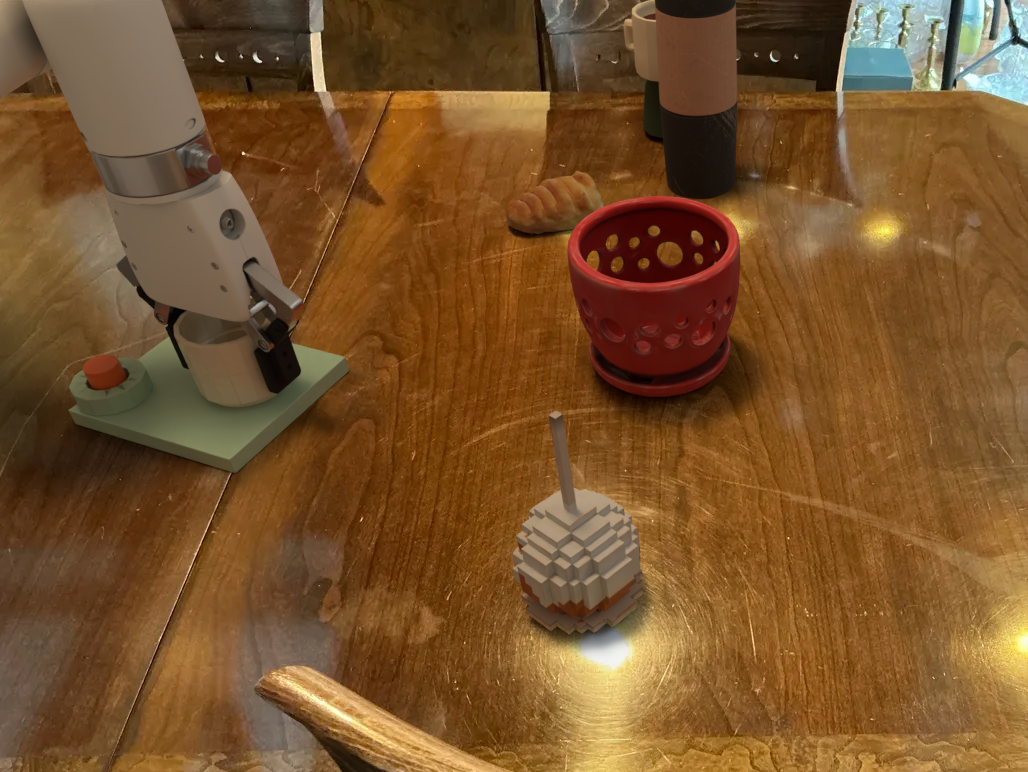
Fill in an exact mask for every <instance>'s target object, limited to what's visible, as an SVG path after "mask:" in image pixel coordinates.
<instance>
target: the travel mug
mask: <svg viewBox="0 0 1028 772" xmlns="http://www.w3.org/2000/svg"><path fill="white" fill-rule="evenodd" d="M736 3H737V0H655V13H656V34H657V55H658V76H659V97H660V110H661V122H662V133H663V138H662V143H663V144H662V145H663V155H664V165H665V175H666V183H667V186H668V188H669V190H670V191H672V192H673V194H676V195H679V196H681V197H684V198H692V199H709V198H714V197H719V196H721V195H724V194H726V193H727V192H729V191H730V190H731V189H732V188H733V187H734V186H735V182H736V167H737V164H736V163H737V127H738V126H737V124H738V62H737V59H738V58H737V57H738V56H737V55H738V53H737V4H736Z"/></svg>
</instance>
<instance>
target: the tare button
mask: <svg viewBox="0 0 1028 772" xmlns="http://www.w3.org/2000/svg"><path fill="white" fill-rule="evenodd" d="M118 358H119V357H117V356H115V355H113V354H101V355H97V356H95V357H92V358H90V359H88V360H87V361H86V362H85V363H84V364H83V365H82V370H83V372H84V373H85V375H86V377H87V379H88V381H89V383H90V385H91V387H92V388H93V389H94V390H96V391H98V390H108V389H111V388H113V387H116V386H119V385H120V384H121V383H123V382H124V381H125V380H127V376H126V374H125V372H124V370H123V368H122V366H121V364H120V362H119V360H118Z"/></svg>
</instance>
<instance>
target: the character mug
mask: <svg viewBox="0 0 1028 772" xmlns="http://www.w3.org/2000/svg"><path fill="white" fill-rule="evenodd" d="M623 34H624V37H623V38H624V45H625V48H626V50H628V51H630V52H633V54H634V55H633V56H634V67H635V71H636V74H637V75H639V77H641V78H642V79H645V80H646V81H645V84H644V95H643V97H644V98H643V111H642V112H643V114H642V115H643V116H642V117H643V118H642V124H643V125H642V126H643V130H644V131H645V132H646V133H647V134H649V135H650V136H651V137H656V138H659V139H663V133H662V122H661V110H660V97H659V76H658V55H657V34H656V13H655V0H645V1H642V2H640V3H637V4H636V5H634V6H633V7H632V8H631V18H626V19H624V21H623Z"/></svg>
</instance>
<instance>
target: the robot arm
mask: <svg viewBox="0 0 1028 772" xmlns="http://www.w3.org/2000/svg"><path fill="white" fill-rule="evenodd" d="M182 55H183V54H182V53H181V50H180V47H179V44H178V41H177V38H176V36H175V34H174V31H173V28H172V24H171V22H170V20H169V16H168V14H167V11H166V9H165V5H164V3H163V0H0V100H2V99H3V98H5V97H6V96H8V95H9V94H11V93H12V92H14V91H16V90H17V89H18V88H21V86H23V85H24V84H26V83H28V82H29V81H30V80H32V79H34V78H36V77H39V76H40V75H43V74H45V73H47V72H50V71H51V70H52V72H53V75H54V77H55V80H56V81H57V83H58V86H59V88H60V90H61V92H62V95H63V97H64V99H65V101H66V105H67V106H68V109H69V110H70V113H71V115H72V117H73V119H74V121H75V124H76V126H77V128H78V131H79V133H80V135H81V137H82V139H83V142H84V144H85V146H86V148H87V151H88V153H89V156H90V157H91V159H92V162H93V164H94V167H95V169H96V171H97V173H98V175H99V178H100V180H101V182H102V184H103V189H104V193H105V197H106V201H107V205H108V208H109V212H110V215H111V218H112V221H113V223H114V226H115V230H116V232H117V236H118V238H119V240H120V243H121V246H122V248H123V251H124V253H125V256H123V257H122V258H121V259H119V261H118V262H116V268H117V270H118V271H119V272H120V273H121V275H122V276H124V278H125V279H126V280H127V281H128V282H129V283H130V284H131V285H132V287H136V289H135V290H136V291H135V292H136V293H137V295H138V297H139V298H140V299H141V300H143V301H144V302H145V303H146V304H147V305H149V306H150V308H152V309H153V317H154V319H155V320H156V321H157V322H158V323H159V324H160V325H163V326H165V327H164V329H165V331H166V333H167V335H168V337H170V340H171V342H172V344H173V346H174V349H175V351H176V353H177V355H178V357H179V360H180V362H181V364H182V366H183V368H185V369H189V368H188V365H187V363H186V361H185V359H184V356H183V354H182V352H181V350H180V348H179V345H178V343H177V341H176V339H175V336H174V327H173V326H174V324H175V323H176V321H177V320H178V318H179V316H180V315H181V314H183V313H184V312H185V311H191V312H195V313H199V314H203V315H207V316H211V317H215V318H219V319H224V320H229V321H234V322H238V323H239V325H240V326H241V327H242V328H243V329H244V330H245V332H246V333H247V334H248V335H249V336H250V338H251V339H252V340H253V341H254V342H255V343H256V345H257V346H258V348H257V349H256V350H255V351H254V354H255V357H256V360H257V362H258V365H259V367H260V370H261V372H262V375H263V378H264V380H265V383H266V385H267V388H268V390H269V391H270V392H272V393H275V394H278V393H280V392H281V391H282V390H283V389H284V388H285V387H287V386H288V385H289V384H290V383H291V382H292V381H294V380H295V379H296V378H297V377H298V376H299V375H300V374H301V368H300V365H299V362H298V359H297V357H296V354H295V351H294V348H293V345H292V343H293V342H292V340H291V337H290V335H291V334H293V333H294V330H295V328H296V327H297V326H298V325H299V323H300V318H301V315H302V312H303V309H304V307H305V303H304V301H303V299H302V298H300V297H299V296H298V295H297V294H296V293H295V292H294V291H292V290H291V289H290V288H289V287H287V286H286V285H285V284H284V282H283V279H282V276H281V273H280V271H279V267H278V265H277V263H276V260H275V258H274V254H273V252H272V250H271V247H270V245H269V243H268V241H267V238H266V236H265V233H264V232H263V229H262V228H261V225H260V223H259V221H258V219H257V217H256V215H255V213H254V211H253V209H252V207H251V204H250V203H249V201H248V198H247V197H246V195H245V194H244V192H243V191H242V189H241V187H240V185H239V184H238V182H237V180H236V179H235V178H234V176H233V174H232V173H231V172H229V171H225V170H223V161H222V159H221V157H220V155H218V152H217V150H216V146H215V144H214V141H213V138H212V136H211V133H210V130H209V128H208V125H207V122H206V120H205V117H204V114H203V111H202V108H201V104H200V102H199V99H198V97H197V93H196V92H195V88H194V86H193V83H192V80H191V78H190V74H189V72H188V69H187V66H186V64H185V61H184V58H183V56H182ZM250 296H251V297H252V298H253V299H254V301H255V303H254V304H253V305H251V306H250V307H249V308H248V305H250ZM260 311H261V312H262V313H263V314H264V315H265V316H266V318H267V319H268V320H269V321H270V322H271V324H270V325H269V326H268V328H267V329H266V330H265V331H264V330H263V329H262V327H261V326H260V325H259V324H258V323H257V322H256V320H255V319H254V318H253V316H255V315H256V314H257V313H259V312H260Z"/></svg>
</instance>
